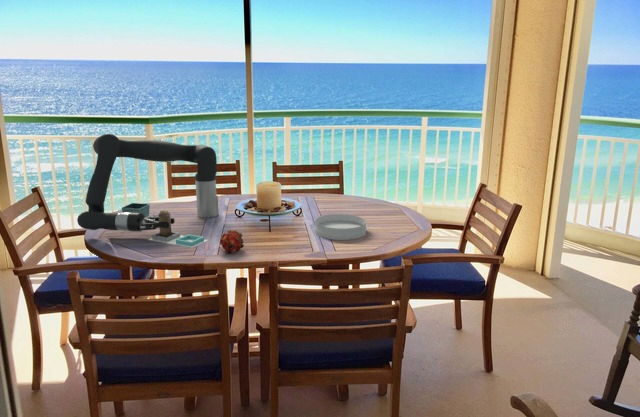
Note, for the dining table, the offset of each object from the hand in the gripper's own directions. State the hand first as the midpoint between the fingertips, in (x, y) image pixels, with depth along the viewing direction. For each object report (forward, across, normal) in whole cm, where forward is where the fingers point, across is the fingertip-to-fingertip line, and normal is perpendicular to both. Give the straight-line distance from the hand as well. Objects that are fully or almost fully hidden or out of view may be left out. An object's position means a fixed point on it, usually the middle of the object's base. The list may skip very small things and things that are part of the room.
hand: (171, 222), depth 194 cm
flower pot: (-23, +20, +8) cm, 31 cm away
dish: (+67, +18, +8) cm, 70 cm away
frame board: (+3, -2, +8) cm, 8 cm away
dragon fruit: (+27, -10, +8) cm, 30 cm away
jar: (-3, 0, +6) cm, 7 cm away
